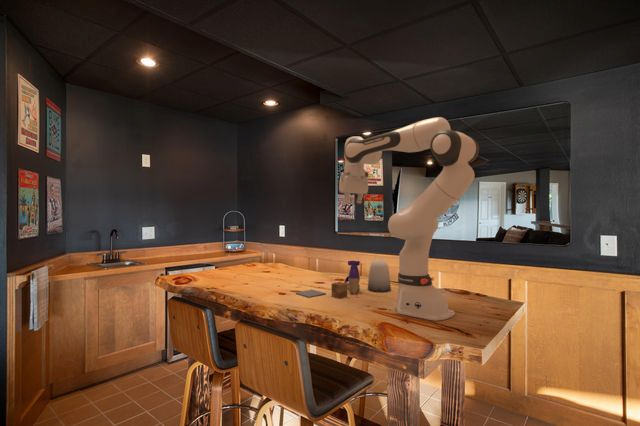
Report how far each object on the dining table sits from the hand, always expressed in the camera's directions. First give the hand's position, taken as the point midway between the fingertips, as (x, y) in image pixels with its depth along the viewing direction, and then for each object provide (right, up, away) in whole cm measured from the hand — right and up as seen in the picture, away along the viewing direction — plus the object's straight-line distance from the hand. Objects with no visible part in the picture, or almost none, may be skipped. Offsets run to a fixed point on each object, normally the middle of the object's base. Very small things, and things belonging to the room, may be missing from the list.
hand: (353, 203), depth 165 cm
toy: (+13, -42, +12) cm, 46 cm away
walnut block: (-7, -42, -2) cm, 43 cm away
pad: (-20, -42, +3) cm, 47 cm away
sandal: (0, -42, +12) cm, 44 cm away
